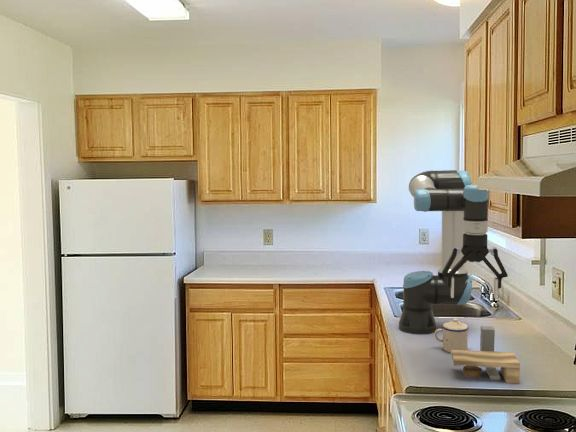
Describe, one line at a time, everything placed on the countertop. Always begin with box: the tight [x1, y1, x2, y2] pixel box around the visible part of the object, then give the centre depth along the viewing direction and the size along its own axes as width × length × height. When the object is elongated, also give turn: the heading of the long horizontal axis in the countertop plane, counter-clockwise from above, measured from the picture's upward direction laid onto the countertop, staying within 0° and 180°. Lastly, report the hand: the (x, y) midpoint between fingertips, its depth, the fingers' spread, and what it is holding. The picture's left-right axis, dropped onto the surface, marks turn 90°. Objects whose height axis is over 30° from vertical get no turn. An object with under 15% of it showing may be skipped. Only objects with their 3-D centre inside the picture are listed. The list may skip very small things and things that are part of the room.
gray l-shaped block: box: [479, 325, 501, 381], centre depth 196 cm, size 18×4×12 cm, turn 170°
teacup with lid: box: [433, 317, 469, 353], centre depth 215 cm, size 12×9×12 cm
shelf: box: [450, 349, 521, 384], centre depth 191 cm, size 10×20×6 cm, turn 80°
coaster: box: [462, 366, 483, 379], centre depth 193 cm, size 6×6×2 cm
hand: (473, 297), depth 191 cm, fingers open, 13 cm apart
